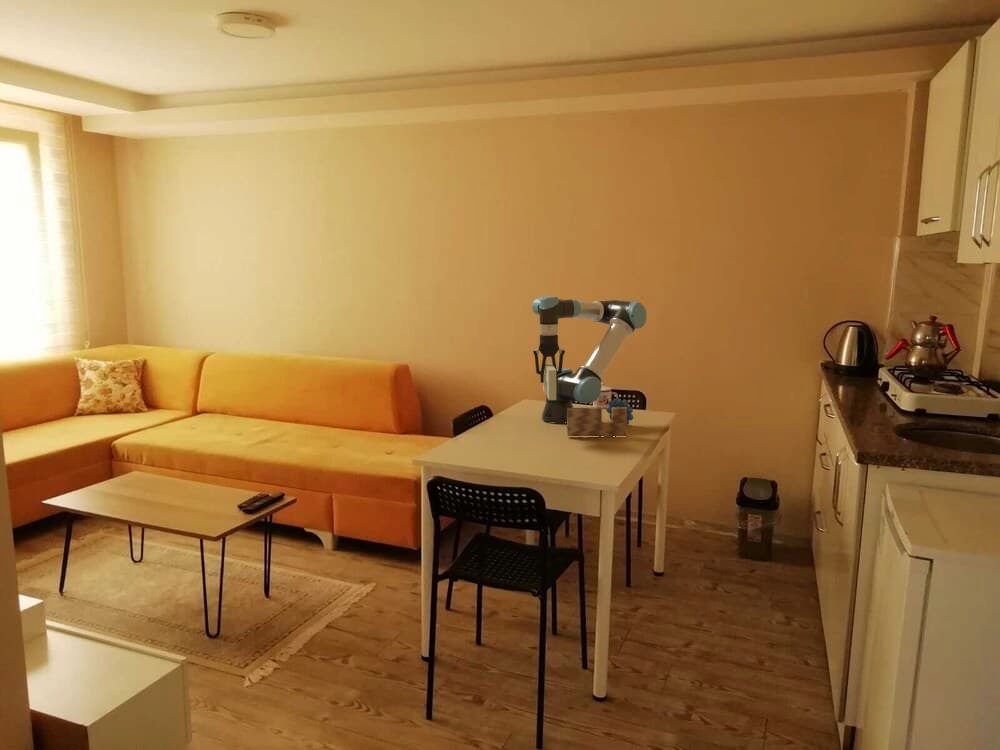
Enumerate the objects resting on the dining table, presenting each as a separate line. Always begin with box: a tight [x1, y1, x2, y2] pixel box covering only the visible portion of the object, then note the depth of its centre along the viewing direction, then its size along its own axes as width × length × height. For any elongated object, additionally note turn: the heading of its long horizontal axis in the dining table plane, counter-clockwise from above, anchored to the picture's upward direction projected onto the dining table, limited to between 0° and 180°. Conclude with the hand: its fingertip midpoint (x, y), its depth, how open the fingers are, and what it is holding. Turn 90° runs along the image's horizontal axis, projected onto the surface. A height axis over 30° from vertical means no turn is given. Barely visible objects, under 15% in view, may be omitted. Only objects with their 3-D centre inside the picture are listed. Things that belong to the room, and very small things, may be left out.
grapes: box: [606, 397, 634, 426], centre depth 315 cm, size 12×7×12 cm, turn 71°
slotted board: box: [566, 407, 628, 437], centre depth 296 cm, size 24×3×12 cm, turn 92°
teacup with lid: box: [592, 382, 619, 409], centre depth 351 cm, size 12×9×12 cm
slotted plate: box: [544, 363, 556, 400], centre depth 295 cm, size 16×3×12 cm, turn 2°
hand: (548, 390), depth 302 cm, fingers closed on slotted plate, 3 cm apart
